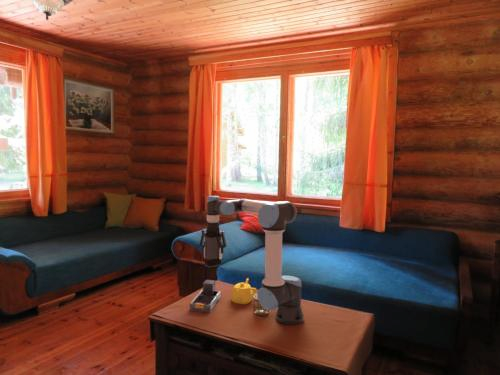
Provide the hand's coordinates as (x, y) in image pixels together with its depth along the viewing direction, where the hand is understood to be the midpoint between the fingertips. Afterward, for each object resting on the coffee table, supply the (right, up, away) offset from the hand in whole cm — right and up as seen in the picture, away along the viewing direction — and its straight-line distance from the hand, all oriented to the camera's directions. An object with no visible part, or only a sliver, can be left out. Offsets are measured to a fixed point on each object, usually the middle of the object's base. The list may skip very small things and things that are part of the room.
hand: (212, 258), depth 222 cm
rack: (-4, -26, -6) cm, 27 cm away
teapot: (+19, -26, 0) cm, 32 cm away
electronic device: (0, -5, +1) cm, 5 cm away
